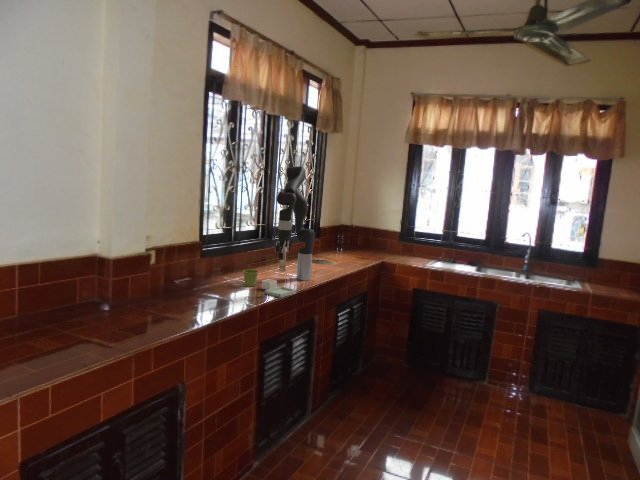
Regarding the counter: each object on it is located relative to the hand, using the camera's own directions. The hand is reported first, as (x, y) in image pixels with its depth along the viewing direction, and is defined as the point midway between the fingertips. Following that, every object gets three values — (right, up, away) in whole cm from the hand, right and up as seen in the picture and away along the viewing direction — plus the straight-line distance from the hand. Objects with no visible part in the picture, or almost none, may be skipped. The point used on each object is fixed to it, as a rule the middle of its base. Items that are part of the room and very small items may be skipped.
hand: (282, 258), depth 259 cm
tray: (-1, -20, +3) cm, 20 cm away
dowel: (-1, -7, +1) cm, 7 cm away
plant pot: (-21, -17, +17) cm, 32 cm away
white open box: (-9, -18, +11) cm, 23 cm away
